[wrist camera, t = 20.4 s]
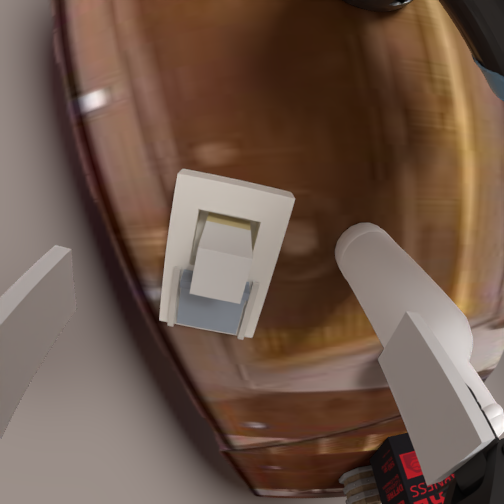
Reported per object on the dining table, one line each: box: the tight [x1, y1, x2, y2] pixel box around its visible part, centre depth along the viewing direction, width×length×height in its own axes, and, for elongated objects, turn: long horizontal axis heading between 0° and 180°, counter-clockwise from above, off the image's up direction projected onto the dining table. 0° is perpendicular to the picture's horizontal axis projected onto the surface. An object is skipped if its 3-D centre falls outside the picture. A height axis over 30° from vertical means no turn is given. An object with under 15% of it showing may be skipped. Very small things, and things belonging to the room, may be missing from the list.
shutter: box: [177, 269, 250, 334], centre depth 37 cm, size 8×8×3 cm
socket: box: [159, 169, 295, 340], centre depth 37 cm, size 20×13×4 cm, turn 166°
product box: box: [370, 433, 455, 504], centre depth 53 cm, size 26×14×32 cm, turn 86°
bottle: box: [335, 223, 504, 437], centre depth 25 cm, size 8×8×30 cm
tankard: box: [339, 465, 381, 504], centre depth 69 cm, size 20×13×15 cm, turn 176°
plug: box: [189, 212, 253, 304], centre depth 33 cm, size 5×5×10 cm
